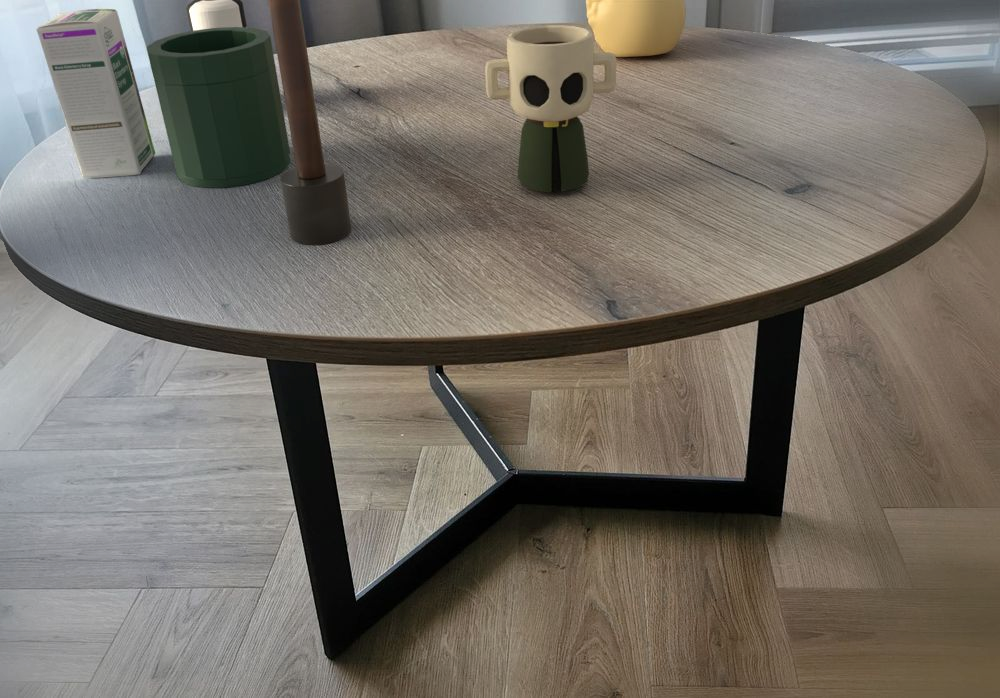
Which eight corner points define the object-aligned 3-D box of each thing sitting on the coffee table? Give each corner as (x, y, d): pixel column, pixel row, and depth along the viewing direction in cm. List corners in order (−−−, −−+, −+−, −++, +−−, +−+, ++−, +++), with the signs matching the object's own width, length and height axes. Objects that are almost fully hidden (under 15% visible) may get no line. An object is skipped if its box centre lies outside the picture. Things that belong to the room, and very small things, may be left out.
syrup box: (141, 175, 92) (101, 20, 85) (79, 179, 92) (34, 24, 85) (156, 155, 97) (119, 6, 90) (98, 159, 97) (56, 10, 90)
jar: (160, 189, 89) (128, 58, 83) (198, 149, 98) (171, 29, 92) (274, 186, 88) (250, 54, 82) (302, 146, 97) (282, 24, 91)
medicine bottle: (203, 102, 113) (180, -5, 107) (264, 94, 114) (245, -11, 108) (202, 119, 107) (178, 8, 101) (267, 111, 108) (247, 0, 102)
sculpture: (610, 39, 128) (611, -47, 123) (696, 46, 123) (701, -44, 117) (573, 61, 120) (571, -31, 114) (663, 69, 115) (666, -27, 109)
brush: (283, 246, 77) (237, -3, 67) (298, 220, 81) (257, -17, 71) (345, 244, 76) (308, -6, 66) (357, 219, 80) (323, -20, 71)
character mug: (493, 204, 82) (484, 49, 75) (490, 174, 88) (482, 28, 81) (620, 196, 82) (623, 40, 75) (609, 166, 88) (610, 20, 81)
